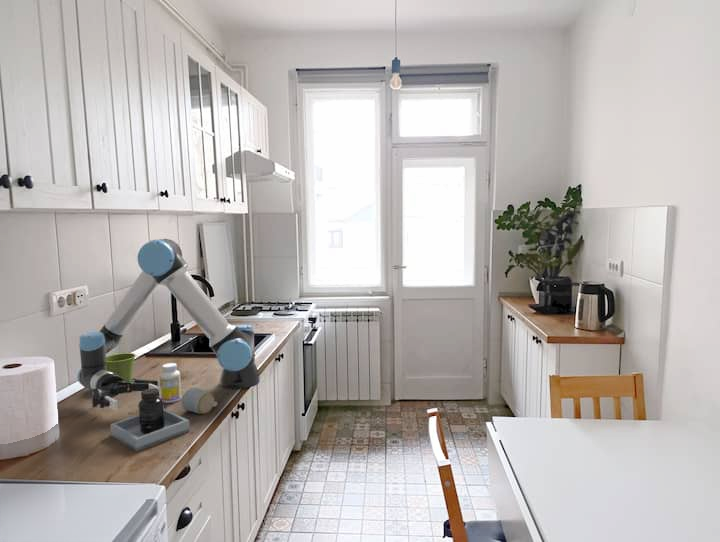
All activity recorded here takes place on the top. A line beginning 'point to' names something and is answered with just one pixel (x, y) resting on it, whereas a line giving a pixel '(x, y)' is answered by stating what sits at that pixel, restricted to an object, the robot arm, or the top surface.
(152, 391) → the supplement bottle
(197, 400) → the ceramic mug
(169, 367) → the supplement bottle
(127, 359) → the plant pot
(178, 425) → the tray
